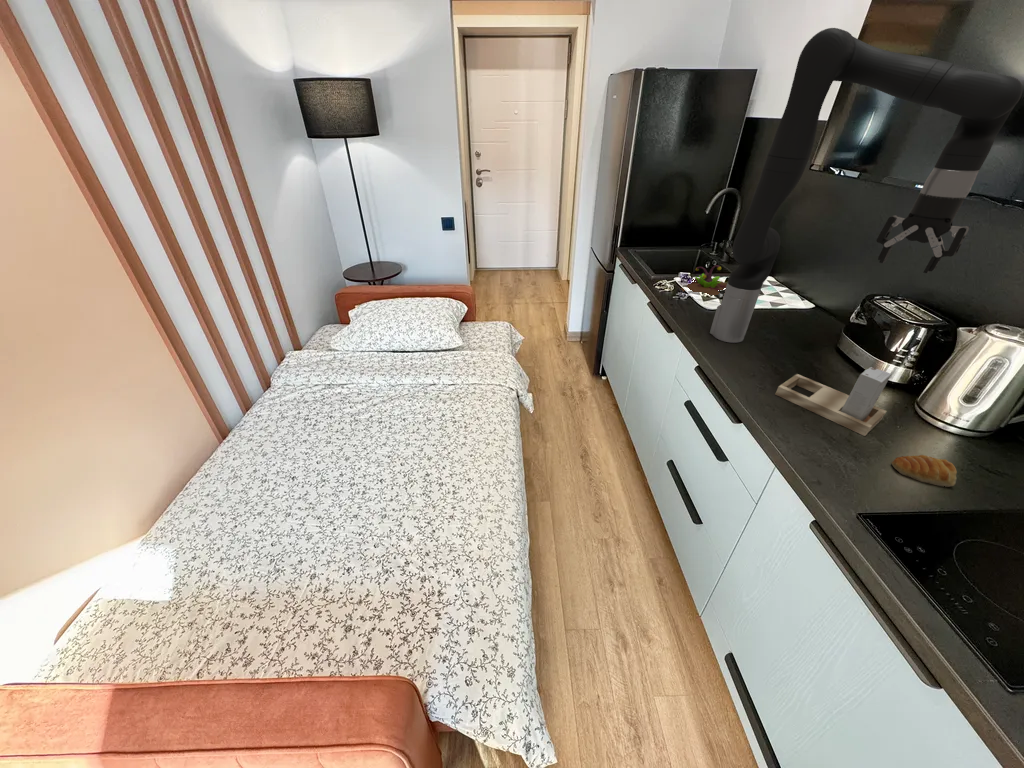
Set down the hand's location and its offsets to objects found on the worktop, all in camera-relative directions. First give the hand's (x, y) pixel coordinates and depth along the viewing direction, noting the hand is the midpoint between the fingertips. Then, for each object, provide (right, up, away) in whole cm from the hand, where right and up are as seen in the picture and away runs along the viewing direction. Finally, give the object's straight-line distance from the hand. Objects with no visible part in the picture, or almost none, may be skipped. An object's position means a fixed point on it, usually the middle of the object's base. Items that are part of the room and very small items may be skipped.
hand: (903, 267), depth 98 cm
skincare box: (-11, -35, +1) cm, 37 cm away
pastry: (-9, -46, -13) cm, 49 cm away
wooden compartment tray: (-14, -33, +5) cm, 36 cm away
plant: (-15, +9, +68) cm, 70 cm away
